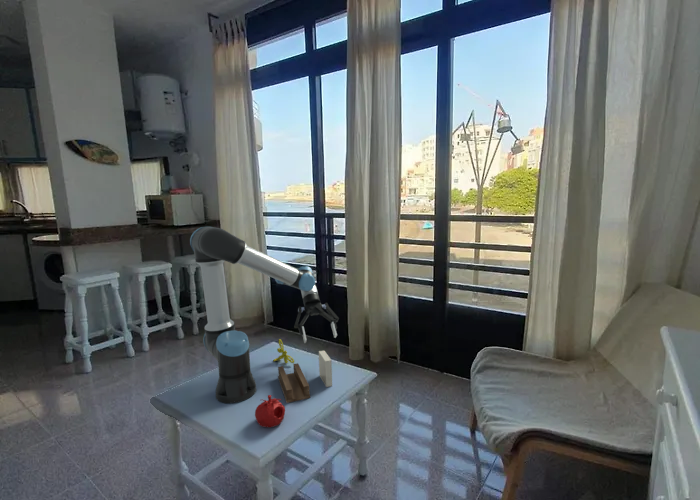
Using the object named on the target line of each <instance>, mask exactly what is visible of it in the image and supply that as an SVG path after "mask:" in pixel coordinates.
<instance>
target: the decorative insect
mask: <svg viewBox="0 0 700 500" xmlns="http://www.w3.org/2000/svg"><path fill="white" fill-rule="evenodd" d="M277 343H278V346H279V347H278V348H277V349H276V351H277V352H278V354H281V355H279V356H278V357H277V358H273V360H272V361H273V362H276V361H280V360H282V359H283V361H284V364H288V363H291V364H295V360H294V358H293V357H292V356H291V355H288V351H287V350H286V349H284V343H283V341H282V339H280V338H278V342H277Z"/></svg>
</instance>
